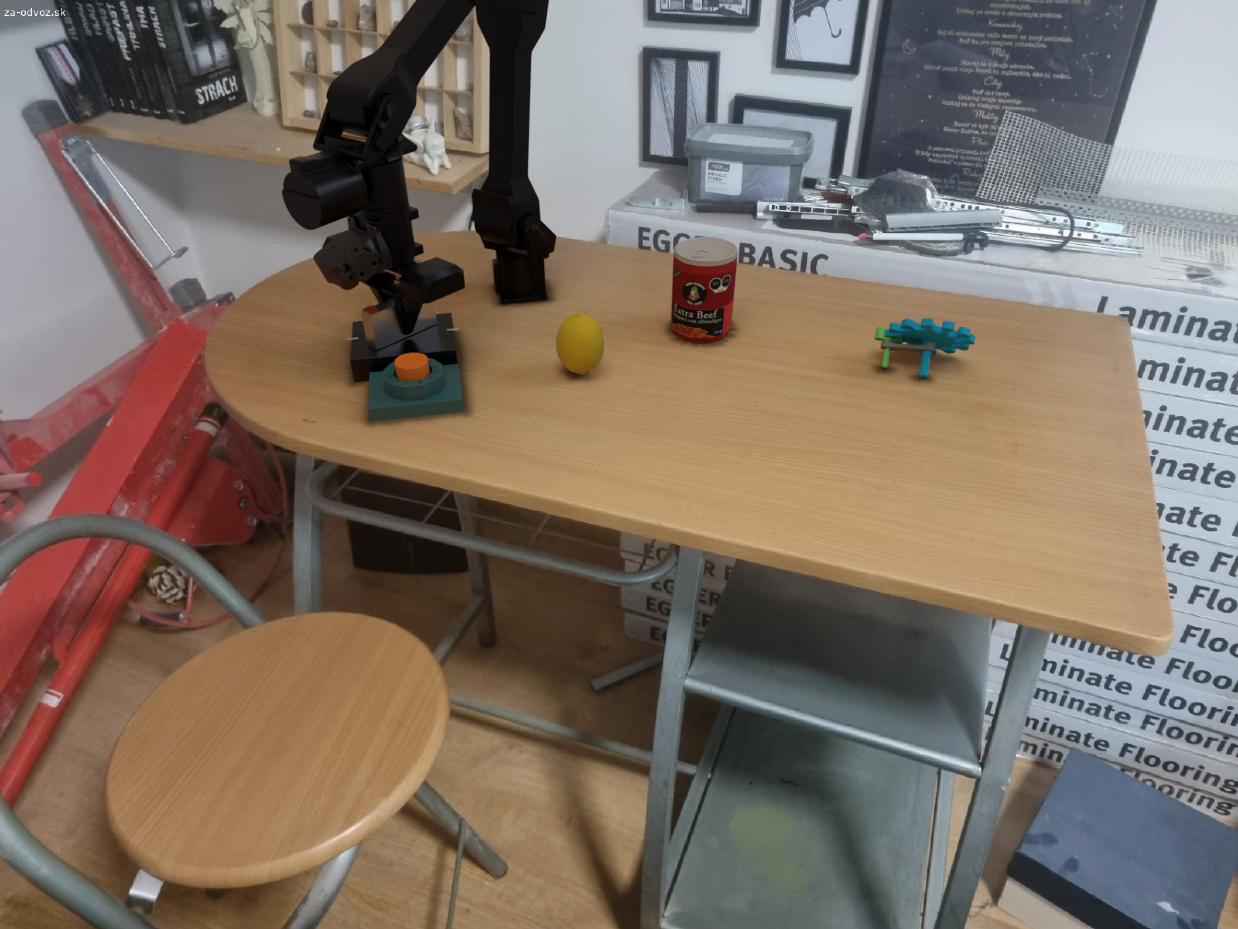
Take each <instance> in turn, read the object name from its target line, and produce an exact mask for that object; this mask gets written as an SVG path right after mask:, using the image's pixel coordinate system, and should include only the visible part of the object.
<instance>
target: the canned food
mask: <svg viewBox="0 0 1238 929" xmlns="http://www.w3.org/2000/svg"><path fill="white" fill-rule="evenodd" d="M673 249H674V250H673V260H672V280H671V281H672V282H671V309H670V310H671V311H670V327H671V331H672V333H673V335H674V336H676V337H677V338H678V339H680V340H682V341H684V342H688V343H691V344H692V343H693V344H711V343H716V342H718V341H722V339H724V338H726V337H727V336H728V335H729V333H730V330H731V328H732V322H733V320H732V319H733V311H734V300H735V289H736V278H737V267H738V255H739V254H738V247H737V245H735V244H734V243H733V242H731V241H728V240H726V239H723V238H718V237H710V236H698V237H691V238H687V239H684V240H682V241H679V242H678V243H677V244H675V246H674V248H673Z"/></svg>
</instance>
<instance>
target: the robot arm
mask: <svg viewBox="0 0 1238 929" xmlns="http://www.w3.org/2000/svg"><path fill="white" fill-rule="evenodd" d="M549 4H550V0H415V1H414V2H413V3H412V5H411V6H410V8H409V9H408V10H407V11H406V13H405V14H404V15H403V17H402V18H401V19H400V21H399V22H398V23H397V24H396V26H395V27H394V28H393V30H392V31H391V32H390V34H389V35H388V37H386V39H385V40H384V42H383V43H382V44H381V45H380V47H378V48H377V49H376V50H375V51H374V52H372V53H371V54H369V55H366V56H365V57H362V58H361V59H359V60H358V59H357V60H356V61H354V62H353V63H351V64H350V65H349V66H348V67H347V68H345V69H344V70H343V71H342V72H341V73H340V74H339V75H337V77H335V78H333V80H332V81H331V83H330V84H329V86H328V89H327V91H326V95H325V98H326V100H327V101H326V104H325V107H324V109H323V113H322V116H321V119H320V123H319V125H318V128H317V131H316V134H315V137H314V140H313V144H312V149H313V150H314V151H317V152H316V153H312V154H308V155H299V156H296V157H292V158H290V159H289V161H288V165H289V169H290V171H289V172H288V173H287V174H286V175H285V176H284V178H283V183H282V190H281V195H282V200H283V203H284V205H285V207H286V210H287V211H288V213H289V215H290V216H291V218H292V219H293V220H294V221H295V223H297V225H299V226H300V227H301V228H303V229H305V230H307V231H314V230H317V229H320V228H323V227H325V226H328V225H331V224H332V223H335V222H338V221H341V220H343V219H345V218H346V221H347V230H344V231H340V232H338V233H334V234H331V235H329V236H327V237H326V239H325V240H324V242H323V244H322V245H321V248H320V249H319V250H318V251H317V252H316V253H314V255H313V256H312V257H313V258H312V259H313V261H314V263H315V264H316V266H317V268H318V269H319V272H320V273H321V274H322V276H323V278H324V279H325V280H326V283H328V284H333V285H334V286H337V287H339V288H340V289H341V290H344V291H350V290H353V289H355V288H357V286H359V284H360V283H361V284H364V285H365V286H367V287H368V288H369V289H370V291H371V293H372V294H373V296H374V297H375V299H376V301H377V304H379V303H382V302H384V301H387V300H389V299H392V298H394V302H395V306H396V310H397V314H398V318H399V321H400V325H401V328H402V331H403V334H404V335H409V334H411V333H412V332H413V330H414V327H415V325H416V322H417V319H418V316H419V314H420V311H421V308H422V306H423V304H427V303H431V302H434V303H435V302H436V301H438V300H441V299H443V298H446V297H448V296H450V295H453V294H455V293H457V292H459V291H462V290H465V288H466V280H465V272H464V269H463V268H462V267H461V266H459V265H458V264H456V263H453V262H450V261H448V260H446V259H444V258H440V257H438V256H434V257H432V258H429V259H427V260H423V259H416V257H417V256H419V255H423V254H424V253H425V251H424V244H423V243H420V242H417V241H415V235H414V234H415V233H414V228H413V227H414V226H413V220H418V219H419V218H420V214H419V213H420V212H419V209H418V208H417V207H414V206H411V205H410V199H409V192H408V185H407V177H406V171H405V164H404V156H405V155H408V154H412V153H415V152H417V150H418V145H417V143H415V142H414V141H412V140H410V139H409V138H408V137H406V135H404V133H403V132H404V131H405V128H406V127H407V124H408V122H409V121H410V119H411V117H412V115H413V113H414V111H415V109H416V107H417V102H418V101H417V100H418V98H417V97H418V86H419V84H420V83H421V81H422V79H423V77H424V76H425V75H426V73H427V72H428V70H429V69H430V68H431V66H432V65H433V64H434V62H435V61H436V60H437V58H438V57H439V56H440V54H441V53H442V51H443V50H444V49H445V47H446V46H447V45H448V43H449V42H450V41H451V39H452V38H453V37H454V35H455V34H456V33H457V32H458V29H459V28H460V27H461V25H462V24H463V23H464V21H465V20H466V19H467V17H468V16H469V15H470V13H471V12H472V11H473V9H474V8H475V18H476V24H477V26H478V28H479V30H480V32H481V34H482V37H483V38H484V41H485V42H486V45H487V47H488V52H489V53H488V54H489V61H488V62H489V64H488V65H489V66H488V67H489V70H488V71H489V74H488V75H489V77H488V78H489V79H488V81H489V82H488V85H489V86H488V90H489V92H488V173H487V176H486V178H485V179H484V181H483V182H482V185H481V186H480V188H473V189H472V192H471V195H470V196H471V205H472V209H471V216H470V221H471V222H473V227H474V230H475V233H476V234H478V235H479V237H480V240H481V243H482V245H483V247H484V249H486V250H491V251H494V252H495V258H492V260H491V266H492V278H493V279H492V280H493V289H494V292H495V294H496V295H498V297H499V299H500V300H499V301H500V303H501V304H513V303H514V304H515V303H523V302H534V301H545V300H548V299H549V293H548V290H547V287H546V286H547V285H546V267H545V260H546V259H549V258H550V255H551V254H553V253H554V252H555V249H556V243H557V234H556V233H554V232H553V230H552V229H550V228H549V226H547V225H546V224H545V223H544V222H543V221H542V217H541V206H540V203H541V202H540V198H539V197H538V195H537V194H538V193H537V192H536V190H535V188H534V186H533V184H532V181H531V180H530V178H529V160H530V159H529V157H530V156H529V155H530V151H529V150H530V126H531V125H530V120H531V91H532V90H531V87H532V86H531V85H532V82H531V81H532V56H533V52H534V49H535V47H536V46H537V44H538V42H539V40H540V39H541V37H542V35H543V33H544V31H545V30H546V28H547V26H546V25H547V19H548V12H549V6H550V5H549ZM343 134H348V135H352V136H355V137H361V138H365V141H364V140H359V139H355V138H350V137H345V136H342V135H343Z"/></svg>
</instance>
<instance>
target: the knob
mask: <svg viewBox="0 0 1238 929" xmlns="http://www.w3.org/2000/svg"><path fill="white" fill-rule="evenodd" d="M360 314H361V319H362V321H363V325H364V330H365V335H366V341H367V346H369V347H371V348H373V349H375V350H379V349H381V348H383V347H385V346H388V345H390V344H392V343H395V342H397V341H399V340H401V339H404V338H406V337H408V336H411V335H413V334H415V333H417V332H420V331H422V330H424V329H426V328H429V327H431V326H433V325H436V324H437V320H436V314H437V313H436V305H435V301H434V302H431V303H427V304H423V306H422V308H421V311H420V314H419V316H418V319H417V322H416V325H415V327H414V330H413V332H412V333H411V334H409V335H404V334H403V331H402V328H401V325H400V321H399V318H398V314H397V310H396V306H395V302H394V298H392V299H389V300H387V301H384V302H382V303H377V304H374V305H372V306H371V305H368V306H366V307H363V308H362V310H360Z"/></svg>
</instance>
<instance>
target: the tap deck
mask: <svg viewBox="0 0 1238 929" xmlns="http://www.w3.org/2000/svg"><path fill="white" fill-rule="evenodd" d="M436 320H437V324H436V325H433V326H431V327H429V328H426V329H424V330H422V331H420V332H417V333H415V334H413V335H411V336H408V337H406V338H404V339H401V340H399V341H397V342H395V343H392V344H390V345H388V346H385V347H383V348H381V349H379V350H375V349H373V348H371V347H369V346H367V341H366V335H365V330H364V325H363V320H355V321H352V328H351V337H348V338H345V341H346V342H350V353H349V362H350V367H351V373H352V378H353V382H354V383H361V382H369V378H370V373H371V372H381V371H383V370H384V369H385V368H386V367H387V366H388V365H390V364H391V363H393V362H395V359H396V358H397V357H399V356H401V355H403V354H407V353H421V354H424V355H426V356H427V358H430V359H434V360H436V361H437V362H439V363H440V364H442V365H452V364H458V365H459V360H458V352H457V344H456V337H455V332H457V331H460V329H459V327H456V328H454V321H453V314H452V312H445V313H436Z"/></svg>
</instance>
